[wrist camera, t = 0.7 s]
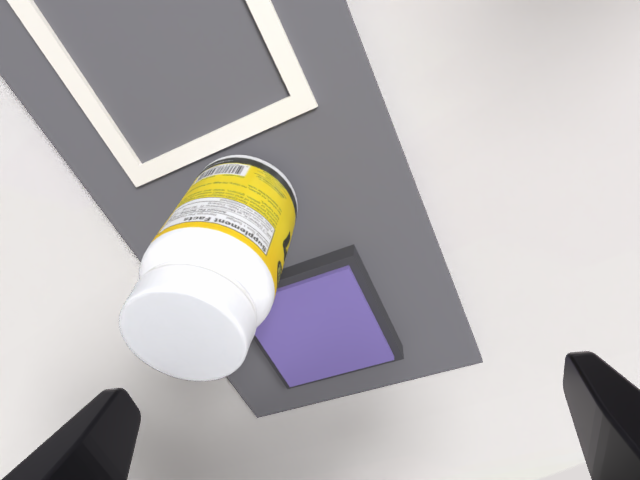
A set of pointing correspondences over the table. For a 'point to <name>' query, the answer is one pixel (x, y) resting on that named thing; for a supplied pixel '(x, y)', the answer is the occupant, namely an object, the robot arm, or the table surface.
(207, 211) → the supplement bottle
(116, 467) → the robot arm
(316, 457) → the table surface
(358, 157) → the mat
